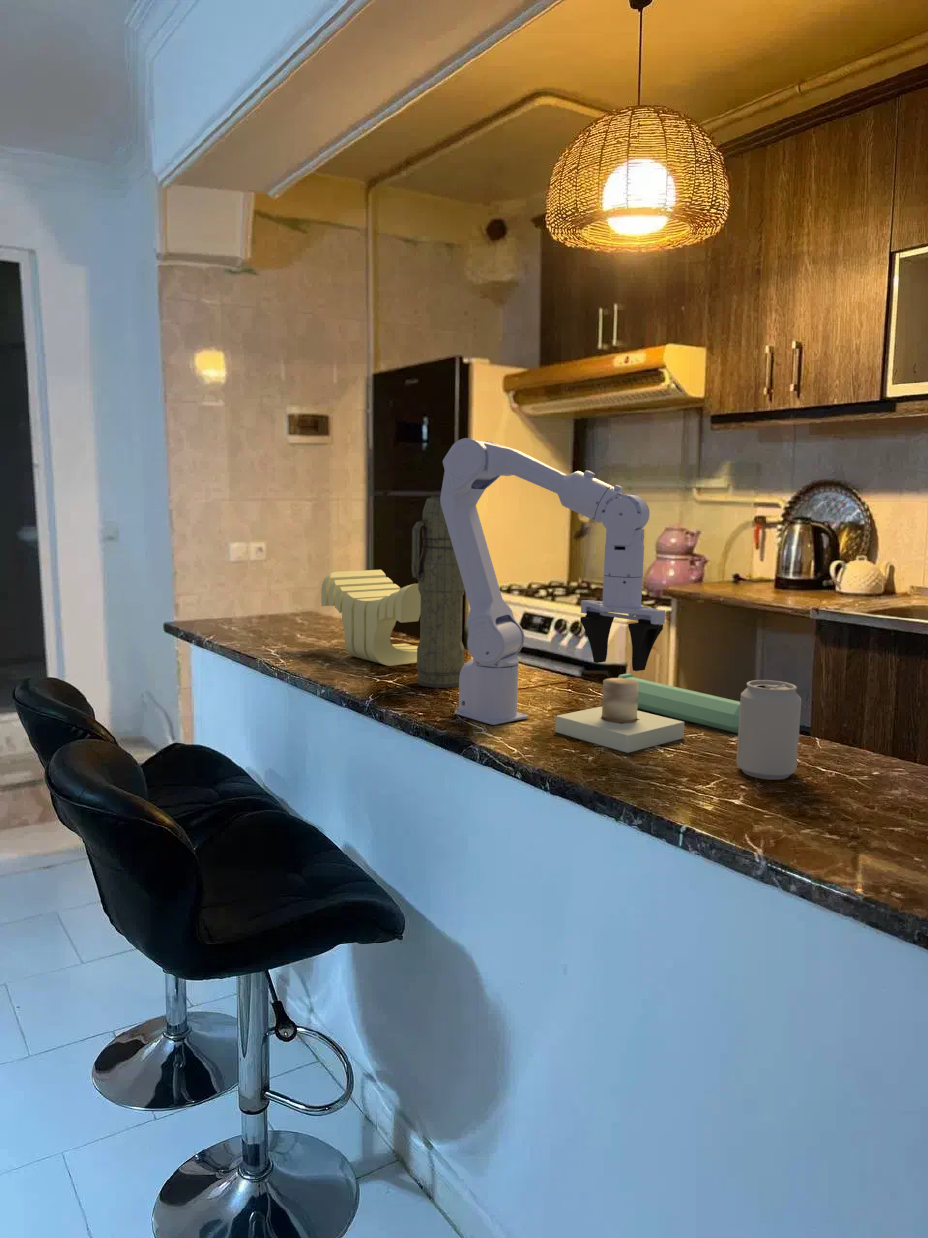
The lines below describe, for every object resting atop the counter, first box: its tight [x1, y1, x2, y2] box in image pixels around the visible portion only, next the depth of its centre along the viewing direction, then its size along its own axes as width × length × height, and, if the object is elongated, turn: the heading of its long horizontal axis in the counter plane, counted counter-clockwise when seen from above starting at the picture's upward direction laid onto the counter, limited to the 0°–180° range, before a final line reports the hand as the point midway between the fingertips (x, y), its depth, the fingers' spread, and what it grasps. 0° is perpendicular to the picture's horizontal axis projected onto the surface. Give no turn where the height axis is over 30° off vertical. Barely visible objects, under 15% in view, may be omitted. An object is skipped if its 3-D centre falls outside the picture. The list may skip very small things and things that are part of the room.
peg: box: [601, 677, 639, 724], centre depth 136 cm, size 5×5×8 cm
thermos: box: [411, 495, 466, 689], centre depth 170 cm, size 9×12×35 cm
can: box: [736, 679, 802, 781], centre depth 119 cm, size 8×8×12 cm
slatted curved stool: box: [320, 569, 421, 667], centre depth 195 cm, size 30×16×18 cm, turn 40°
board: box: [554, 705, 685, 754], centre depth 137 cm, size 14×13×2 cm
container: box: [617, 673, 740, 734], centre depth 148 cm, size 6×6×25 cm
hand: (618, 666), depth 137 cm, fingers open, 7 cm apart
